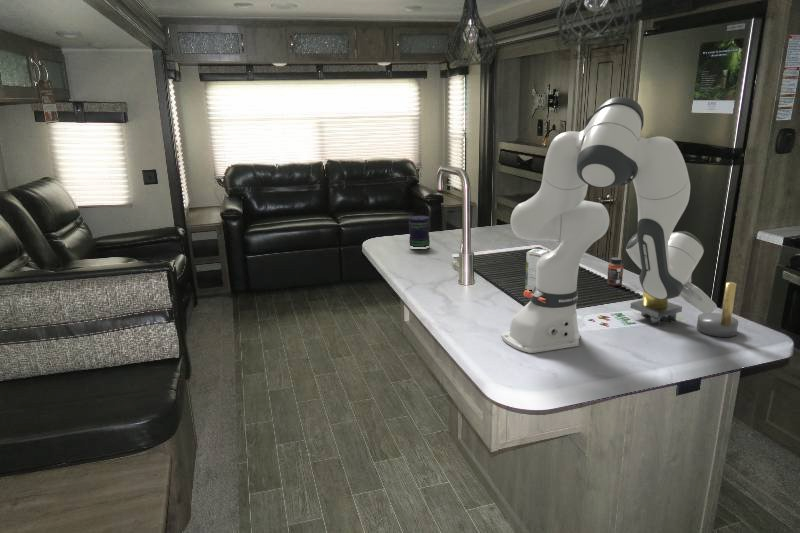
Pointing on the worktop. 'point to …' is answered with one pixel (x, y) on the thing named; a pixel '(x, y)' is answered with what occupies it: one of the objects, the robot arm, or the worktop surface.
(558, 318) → the robot arm
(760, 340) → the worktop surface
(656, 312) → the stand
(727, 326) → the footscrew knob
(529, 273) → the syrup box
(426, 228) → the storage jar
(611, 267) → the supplement bottle
